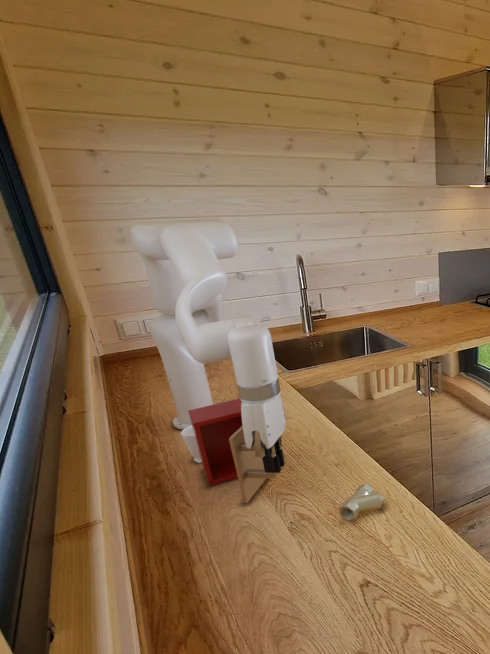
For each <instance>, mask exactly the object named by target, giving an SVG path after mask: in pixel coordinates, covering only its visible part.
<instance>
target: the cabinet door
mask: <svg viewBox="0 0 490 654" xmlns="http://www.w3.org/2000/svg"><path fill="white" fill-rule="evenodd" d="M229 442H230V446H231V450H232V454H233V459H234V463H235V467H236V472H237V476H238V478H237V479H238V484H239V489H240V493H241V497H242V501H243V504H247V503H249V501H250V500H251V499H252V498H253V496H254V495H255V494H256V492H257V491H258V490H259V489H260V488H261V486H262V485H263V484H264V483H265V481H266V480H268V479H269V480H272V479H274V478H276V473H266V472H265V470H264V465H263V460H262V458H261V457H255V445H254V446H253V447H252V448H251V449H248V448H247V447H246V443H245V438H244V432H243V425H242V426H241V427H240V428H239V429H238V430H237V431H236V432H235V433H234V434H233V435H232V436H231V437H230V438H229ZM264 449H267V448H264ZM269 450H270V448H269Z"/></svg>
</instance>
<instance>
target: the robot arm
mask: <svg viewBox="0 0 490 654" xmlns="http://www.w3.org/2000/svg"><path fill="white" fill-rule="evenodd" d="M129 232H130V233H129V234H130V235H129V236H130V241H131V244H132V246H133V247H134V249H135V251H136V252H137V253H138V255H139V256H140V258H141V259H142V260H143V263H144V265H145V270H146V271H145V272H146V277H147V282H148V288H149V294H150V298H151V302H152V304H153V307H154V309H155V310H156V311H158V313H160V314H161V315H158V316H155V317H154V318H153V319H152V320H151V321H150V323H149V332H150V335H151V338H152V340H153V342H154V344H155V346H156V348H157V350H158V353H159V356H160V359H161V361H162V365H163V368H164V372H165V376H166V379H167V383H168V386H169V390H170V393H171V397H172V401H173V404H174V408H175V412H176V416H175V417H174V418H173V420H172V424H173V427H174V428H176V429H179V430H183V429H184V428H187V427H189V426H192V423H191V420H190V416H189V412H188V410H193V409H197V408H201V407H205V406H210V405H214V401H213V397H212V392H211V389H210V384H209V380H208V375H207V372H206V367H205V365H206V364H208V365H209V364H214V363H217V362H222V361H226V360H230V359H231V362H232V366H233V372H234V377H235V382H236V386H237V391H238V396H239V399H240V400H241V401H242V403H241V416H242V425H243V432H244V438H245V443H246V447H247V448H248V449H251V448H252V447H253V446H254V445H255V457H261V458H262V460H263V465H264V470H265V472H266V473H275V474H279V473H281V472H282V469H281V468H284V466H285V464H286V463H285V458H284V452H283V440H282V434H284V431H285V430H286V426H287V422H286V415H285V414H286V413H285V410H284V405H283V401H282V397H281V394H282V390H281V384H280V378H279V374H278V369H277V362H276V358H275V357H276V356H275V352H274V345H273V340H272V335H271V332H270V330H269V328H267V327H266V326H264V325H263V324H262V322H260V321H259V319H257V318H256V317H253V316H240V317H236V318H230V319H224V313H223V300H222V293H223V292H224V291H225V289H226V287H227V285H228V280H229V279H228V278H229V277H228V275H227V273H226V271H225V270H224V268H223V266H222V264H221V263H220V260H225V259H232V258H234V257H235V256H236V255H237V254H238V249H239V244H238V243H239V242H238V239H237V236H236V233H235V232H234V230H233V229H232V226H230V225H229V224H228V223H227V222H226V221H224V220H223V219H220V218H215V219H214V218H198V219H195V218H194V219H182V220H180V219H179V220H158V221H144V222H138V223H135V224H133V226H131V228H130V231H129ZM264 448H267V449H264ZM269 448H270V450H269Z"/></svg>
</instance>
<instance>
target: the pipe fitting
mask: <svg viewBox="0 0 490 654" xmlns="http://www.w3.org/2000/svg"><path fill="white" fill-rule="evenodd" d="M386 500H387V499H386V496H384V495H383V494H380V492H378V491H377V492H375V491H374V488H373V487H372V486H371V485H369V484H367V483H363V484H360V485H358V486H357V488H356V489H355V492H354V493H352V495H351V496H350V497H349V498H348V500H346V501H345V502H343V503H342V504H340V506H339V510H338V511H339V515H340V517H341V518H343V520H345V521H347V522H349V521H354V520H356V519H357V517H358V516H359V514H362V513H366V512H370V511H374V510H378V509H382V505H384V504H385V502H386Z"/></svg>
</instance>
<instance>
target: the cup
mask: <svg viewBox="0 0 490 654" xmlns="http://www.w3.org/2000/svg"><path fill="white" fill-rule="evenodd" d="M179 434H180V437H181V439H182V440H183V442H184V445H185V447H186V449H187V451H188V452H189V454H190V455H191V457H193V461H194V462H195V463H197V464H198V463H202V461H201V458H200V454H199V450H198V446H197V442H196V439H195V435H194V431H193V427H192V426H189V427H187V428H184V429H182V430H181V432H180V433H179Z"/></svg>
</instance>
